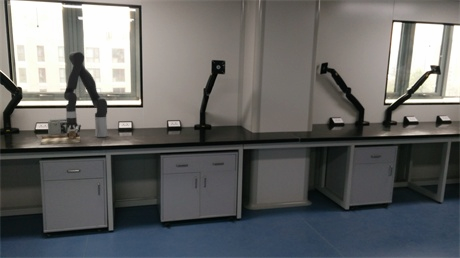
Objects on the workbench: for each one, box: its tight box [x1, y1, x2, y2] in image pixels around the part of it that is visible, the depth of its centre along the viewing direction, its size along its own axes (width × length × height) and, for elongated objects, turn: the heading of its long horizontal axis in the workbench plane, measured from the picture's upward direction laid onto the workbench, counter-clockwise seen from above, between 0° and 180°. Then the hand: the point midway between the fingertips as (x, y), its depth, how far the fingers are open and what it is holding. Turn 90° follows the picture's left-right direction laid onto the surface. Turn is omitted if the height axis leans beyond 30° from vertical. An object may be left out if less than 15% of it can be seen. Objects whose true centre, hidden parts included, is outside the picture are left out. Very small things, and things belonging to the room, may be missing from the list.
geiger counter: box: [47, 118, 79, 136], centre depth 320 cm, size 14×6×25 cm
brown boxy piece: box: [69, 130, 76, 139], centre depth 294 cm, size 5×10×6 cm, turn 23°
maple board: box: [40, 133, 81, 145], centre depth 292 cm, size 28×14×4 cm, turn 113°
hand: (72, 137), depth 296 cm, fingers closed on brown boxy piece, 5 cm apart
